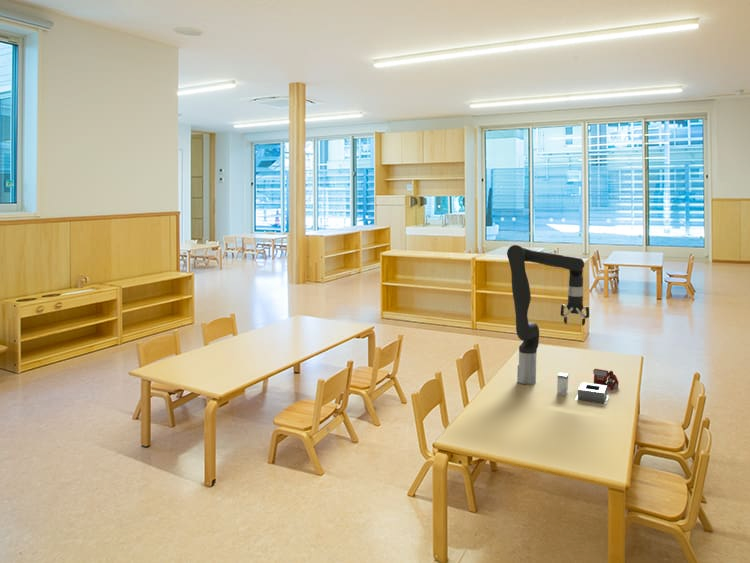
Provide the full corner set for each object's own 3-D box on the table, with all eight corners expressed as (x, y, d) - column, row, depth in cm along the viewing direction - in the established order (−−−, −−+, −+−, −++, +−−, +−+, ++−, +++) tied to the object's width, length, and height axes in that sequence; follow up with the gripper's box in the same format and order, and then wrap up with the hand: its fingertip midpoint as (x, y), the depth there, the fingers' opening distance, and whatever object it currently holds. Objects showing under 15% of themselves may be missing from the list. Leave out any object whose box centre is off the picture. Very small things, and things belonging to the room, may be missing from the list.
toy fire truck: (616, 393, 286) (617, 374, 284) (591, 389, 293) (591, 370, 291) (619, 389, 292) (620, 370, 290) (594, 385, 299) (595, 366, 297)
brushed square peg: (556, 396, 282) (557, 375, 281) (558, 393, 286) (559, 372, 285) (566, 397, 280) (566, 376, 279) (567, 394, 284) (568, 373, 283)
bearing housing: (575, 402, 275) (575, 389, 274) (579, 393, 287) (579, 381, 286) (605, 407, 268) (606, 394, 267) (608, 397, 281) (609, 385, 280)
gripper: (560, 294, 296) (559, 324, 299) (588, 296, 290) (587, 327, 292) (562, 292, 303) (561, 321, 305) (590, 294, 296) (589, 324, 299)
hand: (574, 324), depth 299 cm, fingers open, 8 cm apart
